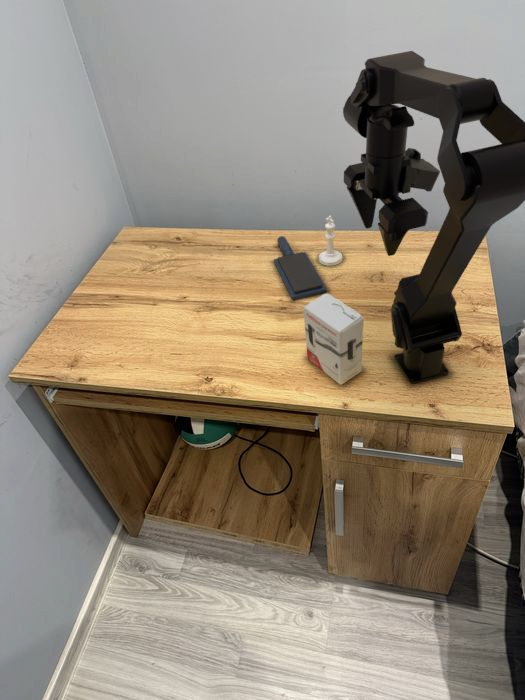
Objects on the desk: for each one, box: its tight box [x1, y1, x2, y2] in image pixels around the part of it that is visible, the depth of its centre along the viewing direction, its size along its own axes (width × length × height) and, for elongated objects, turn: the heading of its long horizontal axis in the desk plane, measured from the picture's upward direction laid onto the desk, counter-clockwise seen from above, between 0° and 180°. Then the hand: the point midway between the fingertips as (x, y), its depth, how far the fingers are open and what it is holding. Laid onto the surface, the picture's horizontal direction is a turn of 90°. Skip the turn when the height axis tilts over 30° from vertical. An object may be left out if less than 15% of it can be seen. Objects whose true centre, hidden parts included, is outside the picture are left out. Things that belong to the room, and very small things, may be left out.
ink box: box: [302, 292, 364, 386], centre depth 79 cm, size 8×5×12 cm, turn 37°
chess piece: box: [318, 215, 343, 267], centre depth 102 cm, size 5×5×10 cm
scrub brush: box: [273, 235, 328, 301], centre depth 104 cm, size 21×7×2 cm, turn 14°
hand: (379, 240), depth 85 cm, fingers open, 9 cm apart
